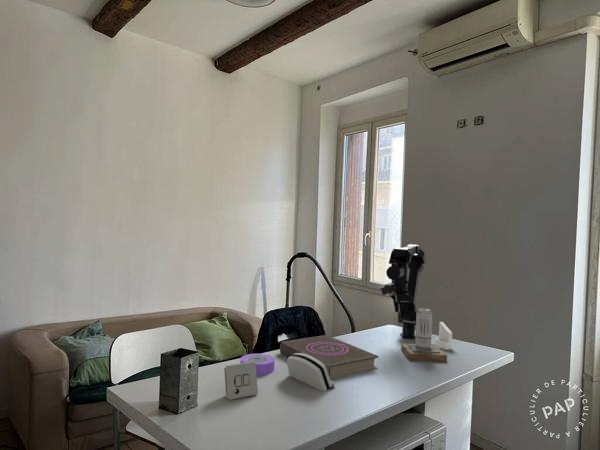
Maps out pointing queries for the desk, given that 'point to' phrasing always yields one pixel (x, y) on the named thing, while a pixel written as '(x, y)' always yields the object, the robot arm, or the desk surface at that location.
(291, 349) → the book
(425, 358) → the brown square frame
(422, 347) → the energy drink can
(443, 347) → the white angled block
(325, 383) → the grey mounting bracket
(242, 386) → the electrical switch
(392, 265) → the robot arm
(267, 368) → the masking tape
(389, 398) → the desk surface
